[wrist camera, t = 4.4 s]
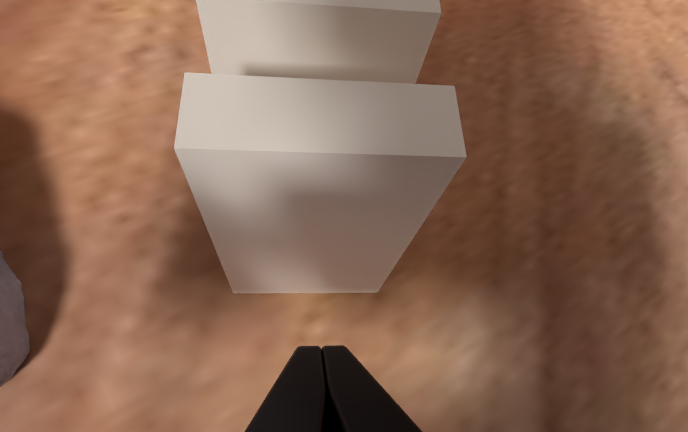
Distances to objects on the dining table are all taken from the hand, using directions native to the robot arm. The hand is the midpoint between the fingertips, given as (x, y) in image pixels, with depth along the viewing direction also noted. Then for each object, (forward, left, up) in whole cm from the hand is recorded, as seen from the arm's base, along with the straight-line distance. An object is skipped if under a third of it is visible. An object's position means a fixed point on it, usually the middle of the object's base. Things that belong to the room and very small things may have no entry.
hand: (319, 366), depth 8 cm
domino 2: (+6, -5, -7) cm, 10 cm away
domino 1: (+3, -3, -7) cm, 8 cm away
